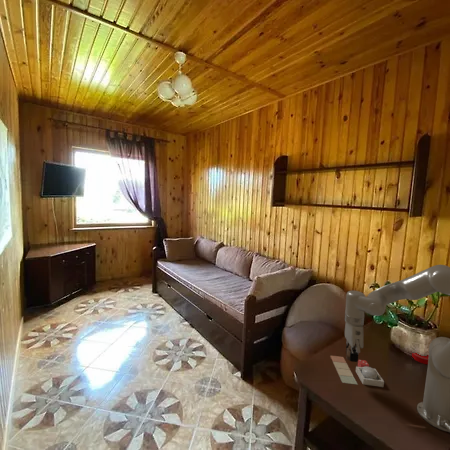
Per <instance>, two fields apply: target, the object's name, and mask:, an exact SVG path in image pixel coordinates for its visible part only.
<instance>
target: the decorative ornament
mask: <svg viewBox="0 0 450 450" xmlns="http://www.w3.org/2000/svg"><path fill="white" fill-rule="evenodd" d="M412 357H413V358H414V361H416V362H418V363H421V364H423V365H427V366H428V358H429V355H427V356H421V355H419V354H417V353H412ZM412 357H411V358H412ZM413 358H412V359H413Z"/></svg>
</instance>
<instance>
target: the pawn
mask: <svg viewBox="0 0 450 450" xmlns="http://www.w3.org/2000/svg"><path fill="white" fill-rule="evenodd" d="M347 346H348V345H347ZM354 349H356V348H353V350H354ZM350 352H351V346H350V345H349V346H348V348H347V352H346V351H345V354H346V357H345V358H346V360H348V361H349V362H351V361H350Z"/></svg>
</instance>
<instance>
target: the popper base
mask: <svg viewBox="0 0 450 450" xmlns="http://www.w3.org/2000/svg"><path fill="white" fill-rule="evenodd" d="M365 366H367V367H370V364H369V363H368V361H367V360H364V359H358V362H357V365H356V366H355V373H356V374H357V376H358V378H359V380H360V382H361V383H362V385H366V386H371V387H372V386H373V387H379V388H384V385H385V381H384V379H383V377H381V375H380V374H379V372H378V371H377V369H376V368H374V369H375V370H376V371H377V380H376V379H368V378H364V376H363V374H362V368H363V367H365Z"/></svg>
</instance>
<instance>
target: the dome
mask: <svg viewBox="0 0 450 450" xmlns="http://www.w3.org/2000/svg"><path fill="white" fill-rule="evenodd" d="M375 369H376V368H373V367H371V366H369V367H367V366H365V367H363V368H362V374H363V376H364V378H368V379H376V380H377V372H378V370H377V369H376V370H375Z"/></svg>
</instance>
